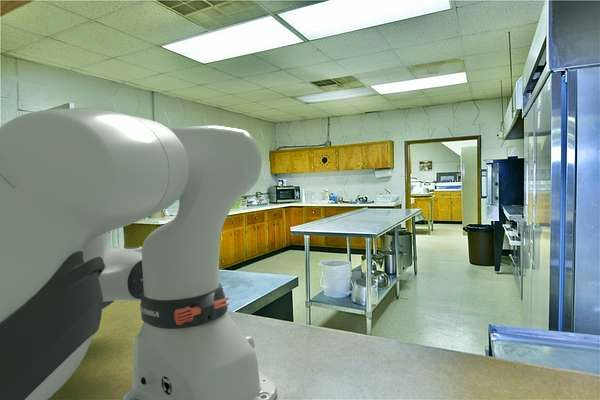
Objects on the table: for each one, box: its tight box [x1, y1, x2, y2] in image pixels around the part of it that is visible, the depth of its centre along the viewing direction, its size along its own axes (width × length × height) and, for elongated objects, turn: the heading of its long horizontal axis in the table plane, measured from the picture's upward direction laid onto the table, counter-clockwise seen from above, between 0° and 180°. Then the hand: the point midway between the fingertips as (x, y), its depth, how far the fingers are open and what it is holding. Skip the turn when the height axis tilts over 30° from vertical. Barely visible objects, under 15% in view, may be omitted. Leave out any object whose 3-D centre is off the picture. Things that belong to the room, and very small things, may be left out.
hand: (77, 262), depth 77 cm, fingers closed
